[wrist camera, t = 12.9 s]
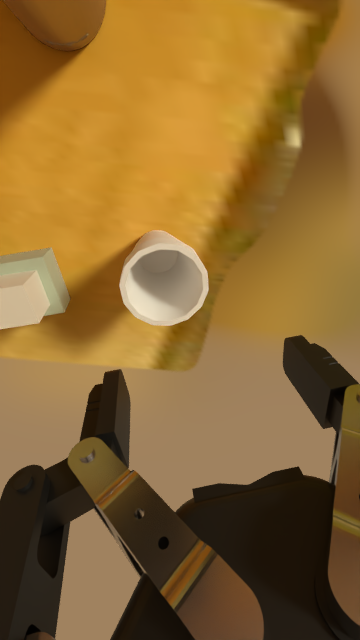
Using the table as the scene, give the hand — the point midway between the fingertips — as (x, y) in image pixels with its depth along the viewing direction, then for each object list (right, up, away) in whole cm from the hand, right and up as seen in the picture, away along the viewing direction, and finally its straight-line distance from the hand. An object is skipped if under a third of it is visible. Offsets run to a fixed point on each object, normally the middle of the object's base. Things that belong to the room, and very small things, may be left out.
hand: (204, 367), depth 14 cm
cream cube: (-22, +6, +23) cm, 32 cm away
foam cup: (-4, +12, +28) cm, 30 cm away
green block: (-22, +8, +27) cm, 36 cm away
